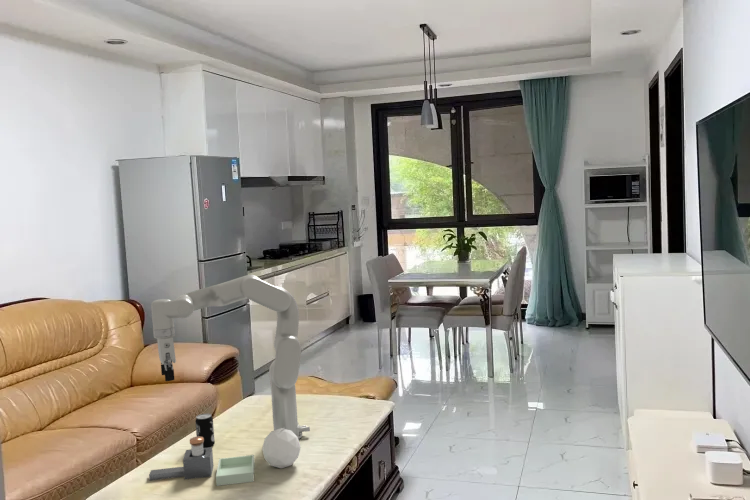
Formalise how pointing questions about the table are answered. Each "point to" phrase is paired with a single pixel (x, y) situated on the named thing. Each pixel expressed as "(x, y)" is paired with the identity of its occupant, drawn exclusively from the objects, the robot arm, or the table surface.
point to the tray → (235, 470)
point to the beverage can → (205, 429)
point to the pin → (197, 446)
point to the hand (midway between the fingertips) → (168, 377)
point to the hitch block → (188, 467)
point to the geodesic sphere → (281, 448)
